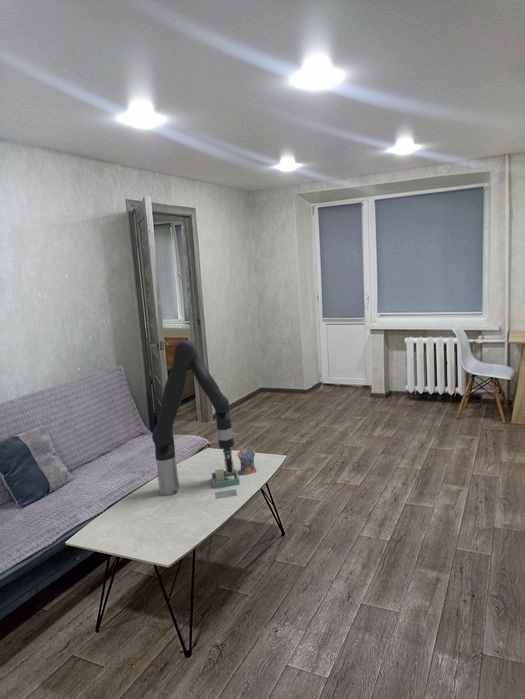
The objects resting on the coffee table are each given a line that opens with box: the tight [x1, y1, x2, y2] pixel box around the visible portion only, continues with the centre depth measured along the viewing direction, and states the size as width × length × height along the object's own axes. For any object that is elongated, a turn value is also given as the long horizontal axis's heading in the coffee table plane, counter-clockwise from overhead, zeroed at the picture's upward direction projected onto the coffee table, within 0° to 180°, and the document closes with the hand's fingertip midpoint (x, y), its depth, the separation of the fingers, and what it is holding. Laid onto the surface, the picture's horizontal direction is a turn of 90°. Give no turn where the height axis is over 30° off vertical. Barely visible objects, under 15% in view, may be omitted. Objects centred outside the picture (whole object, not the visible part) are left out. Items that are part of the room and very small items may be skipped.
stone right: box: [223, 458, 235, 474], centre depth 247 cm, size 4×4×6 cm
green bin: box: [210, 468, 240, 489], centre depth 247 cm, size 13×13×4 cm
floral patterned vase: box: [236, 449, 257, 475], centre depth 258 cm, size 12×9×11 cm
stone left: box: [214, 468, 226, 482], centre depth 247 cm, size 4×4×6 cm
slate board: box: [214, 488, 238, 500], centre depth 233 cm, size 10×7×1 cm
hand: (229, 470), depth 247 cm, fingers closed on stone right, 4 cm apart
